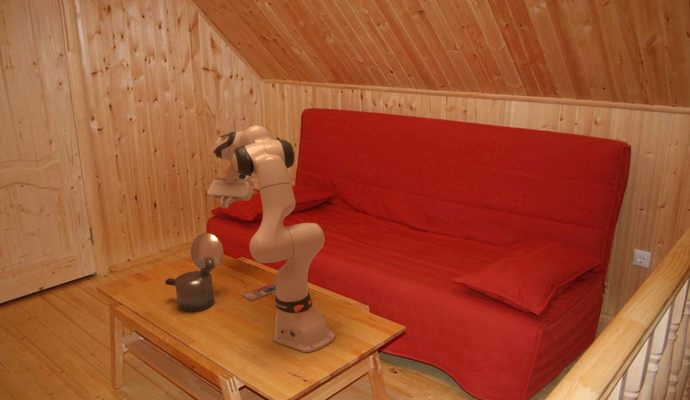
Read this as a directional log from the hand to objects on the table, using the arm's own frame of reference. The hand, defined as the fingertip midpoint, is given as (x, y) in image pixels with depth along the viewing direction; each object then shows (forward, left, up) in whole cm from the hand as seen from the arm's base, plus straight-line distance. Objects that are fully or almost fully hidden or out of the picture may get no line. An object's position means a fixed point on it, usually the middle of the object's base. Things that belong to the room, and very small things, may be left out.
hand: (224, 207), depth 234 cm
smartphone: (-22, 0, -33) cm, 39 cm away
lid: (-6, +14, -14) cm, 21 cm away
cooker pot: (-7, +24, -32) cm, 41 cm away
